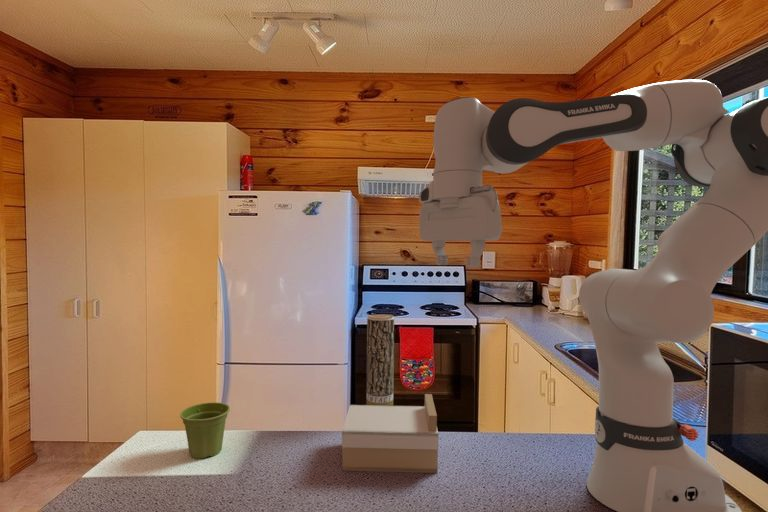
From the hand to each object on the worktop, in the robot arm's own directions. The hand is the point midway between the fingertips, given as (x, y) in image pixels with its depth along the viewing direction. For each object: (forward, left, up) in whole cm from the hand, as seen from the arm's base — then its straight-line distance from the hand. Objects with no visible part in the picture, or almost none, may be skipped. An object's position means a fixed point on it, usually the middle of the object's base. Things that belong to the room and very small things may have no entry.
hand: (456, 266), depth 79 cm
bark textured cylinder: (+15, -30, -39) cm, 51 cm away
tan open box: (+12, -8, -39) cm, 42 cm away
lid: (+12, -8, -34) cm, 37 cm away
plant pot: (+50, -8, -39) cm, 64 cm away
